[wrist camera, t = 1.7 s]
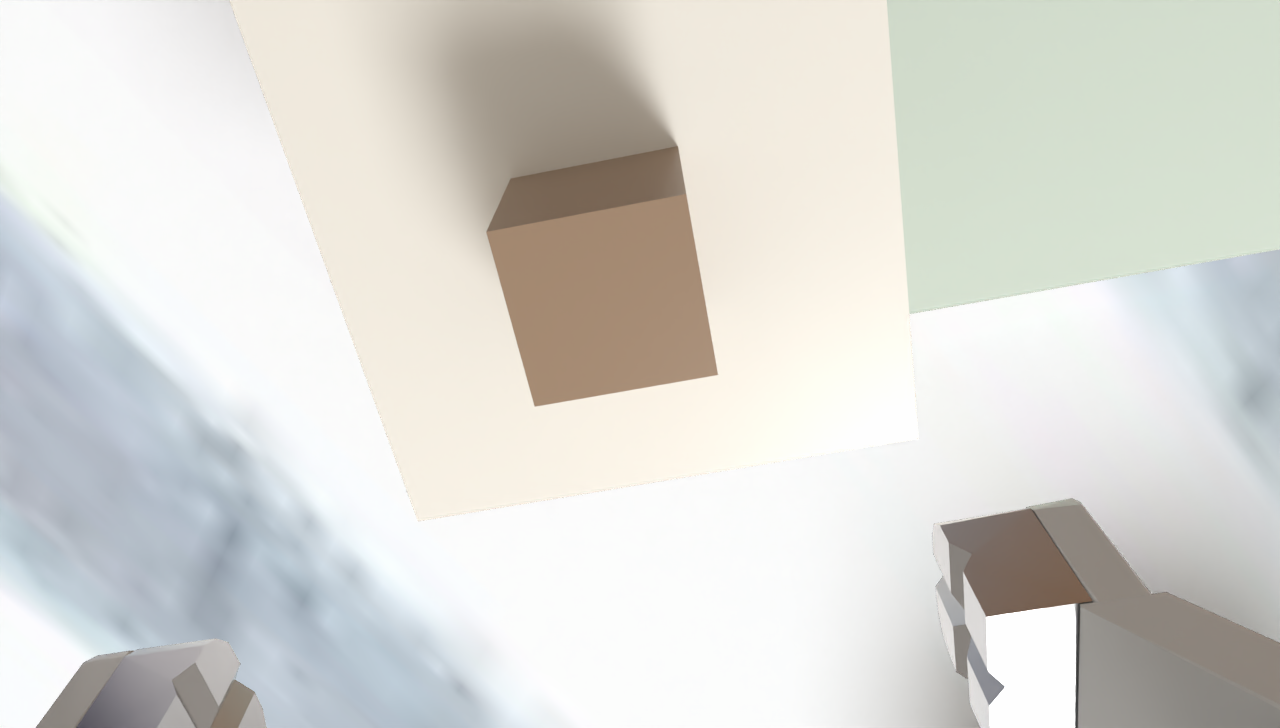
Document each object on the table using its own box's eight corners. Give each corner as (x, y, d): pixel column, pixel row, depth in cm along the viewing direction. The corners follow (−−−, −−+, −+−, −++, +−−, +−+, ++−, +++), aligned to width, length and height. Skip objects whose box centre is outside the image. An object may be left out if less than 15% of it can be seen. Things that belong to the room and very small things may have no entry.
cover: (865, -139, 20) (932, -151, 16) (908, 420, 26) (965, 527, 22) (245, -6, 21) (141, 18, 17) (425, 501, 27) (383, 618, 23)
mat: (1331, -315, 29) (1353, -322, 28) (1271, 239, 36) (1287, 247, 36) (809, -199, 30) (814, -202, 29) (859, 312, 38) (864, 321, 37)
